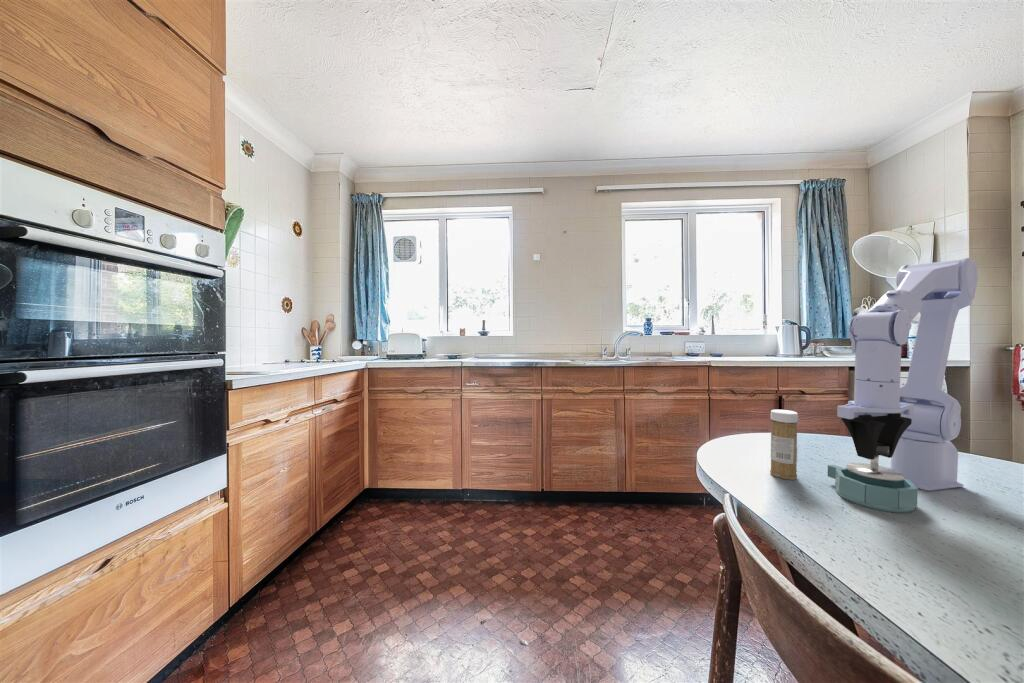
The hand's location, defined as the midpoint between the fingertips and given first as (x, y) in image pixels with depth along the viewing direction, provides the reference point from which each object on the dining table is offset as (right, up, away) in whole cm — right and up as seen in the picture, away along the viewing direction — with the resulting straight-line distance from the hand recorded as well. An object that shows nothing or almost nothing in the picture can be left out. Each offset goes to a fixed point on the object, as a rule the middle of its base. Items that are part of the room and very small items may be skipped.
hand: (874, 456), depth 65 cm
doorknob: (0, -3, 0) cm, 3 cm away
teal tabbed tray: (0, -8, +1) cm, 8 cm away
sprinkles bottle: (-8, -8, +11) cm, 16 cm away
